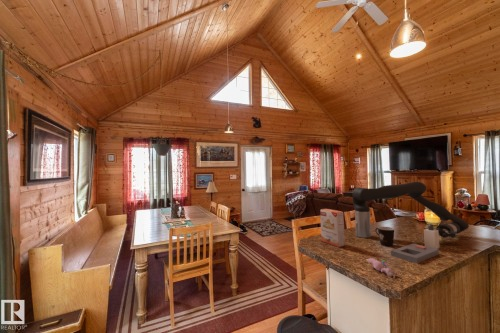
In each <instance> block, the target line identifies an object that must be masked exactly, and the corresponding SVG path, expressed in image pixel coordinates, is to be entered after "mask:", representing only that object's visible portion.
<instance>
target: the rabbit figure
mask: <svg viewBox="0 0 500 333" xmlns="http://www.w3.org/2000/svg"><path fill="white" fill-rule="evenodd" d="M365 260H366V261H367V262H368V263H370V264H371V265H372V266H373V268H374V269H375V270H377V271H378V272H381V273H385V274H386V275H387V276H388V277H389V278H393V279H396V275H397V278H398V277H399V278H400V274H399V273H398V272H396V271H395V270H393V268H390V267H389V266H388V264H387V263H386V260H382V261H380V260H377V259H375V258H372V257H371V258H370V257H369V258H367V259H365Z"/></svg>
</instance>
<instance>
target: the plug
mask: <svg viewBox="0 0 500 333" xmlns="http://www.w3.org/2000/svg"><path fill="white" fill-rule="evenodd" d="M427 228H428V229H424V228H423V238H424V239H423V241H424V246H426V247H430V248H435V249H440V235H439V231H438V230H434V228H435V226H434V224H433V223H428V224H427Z"/></svg>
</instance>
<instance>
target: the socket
mask: <svg viewBox="0 0 500 333" xmlns="http://www.w3.org/2000/svg"><path fill="white" fill-rule="evenodd" d="M439 249H440V248H438V249H435V248H430V247H426V246H425V245H422V244H417V243H411V244H407V245H404V246H402V247H399V248H395V249H392V250H390V256H392V257H394V258H398V259H400V260H404V261H408V262H411V263H414V264H420V263H421V262H423V261H427V260H428V259H429V260H430V259H431V258H434V257H436V256H438V255H439V254H440V250H439Z"/></svg>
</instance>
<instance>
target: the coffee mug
mask: <svg viewBox="0 0 500 333" xmlns="http://www.w3.org/2000/svg"><path fill="white" fill-rule="evenodd" d="M374 230H375V233H376V235H377V236H378V238H379V242H380V245H381V246H382V247H387V248H388V247H389V248H390V247H391V248H392V247H393V246H394V240H395V228H393V227H390V226H378V227H376V228H375V229H374Z"/></svg>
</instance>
